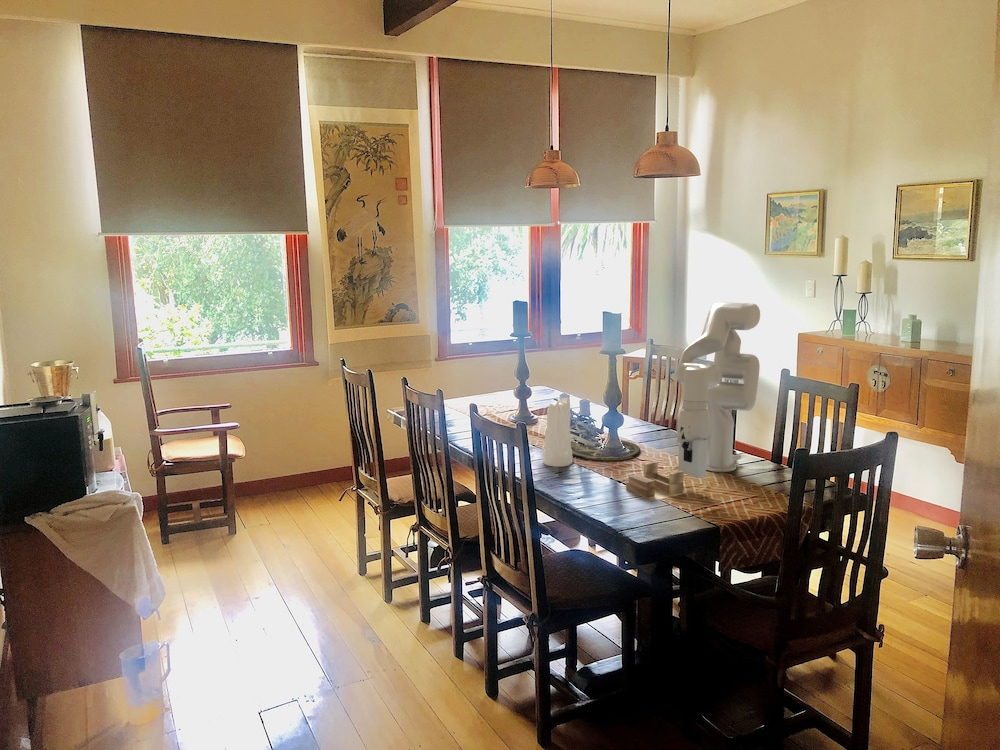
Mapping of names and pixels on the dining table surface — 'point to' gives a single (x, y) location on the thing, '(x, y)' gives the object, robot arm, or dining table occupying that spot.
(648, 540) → the dining table surface
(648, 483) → the offcut top
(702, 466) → the white rectangular block
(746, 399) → the robot arm
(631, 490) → the block
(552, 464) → the white pillar candle
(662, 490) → the rack
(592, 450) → the decorative plate
